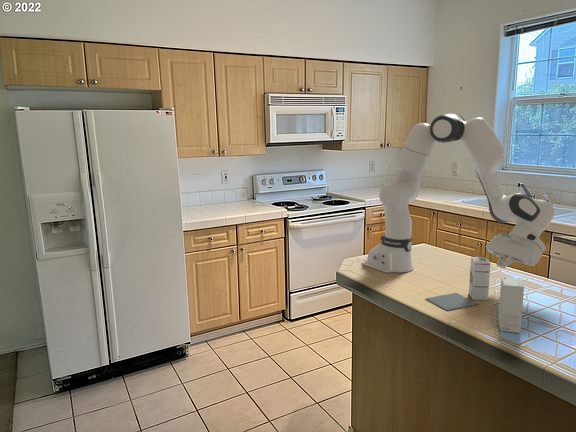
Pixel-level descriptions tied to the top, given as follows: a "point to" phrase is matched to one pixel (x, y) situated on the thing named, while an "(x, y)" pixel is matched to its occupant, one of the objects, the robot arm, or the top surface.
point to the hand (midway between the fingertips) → (500, 266)
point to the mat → (452, 301)
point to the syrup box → (479, 278)
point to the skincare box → (511, 305)
